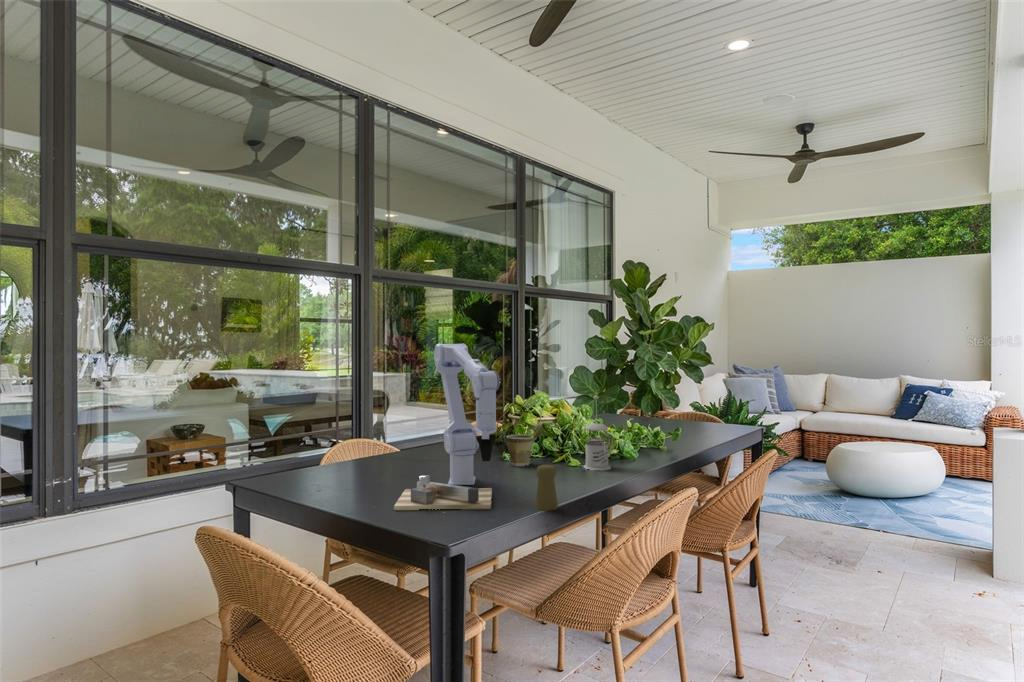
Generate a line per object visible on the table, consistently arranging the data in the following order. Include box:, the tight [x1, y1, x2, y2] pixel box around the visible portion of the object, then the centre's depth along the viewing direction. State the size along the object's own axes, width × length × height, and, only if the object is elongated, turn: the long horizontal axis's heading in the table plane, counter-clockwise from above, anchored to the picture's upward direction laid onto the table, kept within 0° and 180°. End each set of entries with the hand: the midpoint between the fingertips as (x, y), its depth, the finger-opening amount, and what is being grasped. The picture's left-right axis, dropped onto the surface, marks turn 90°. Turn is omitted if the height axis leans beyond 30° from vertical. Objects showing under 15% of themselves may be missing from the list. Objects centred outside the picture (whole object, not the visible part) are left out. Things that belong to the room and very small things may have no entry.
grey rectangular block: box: [410, 486, 433, 505], centre depth 160 cm, size 2×6×3 cm, turn 51°
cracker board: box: [393, 487, 493, 511], centre depth 166 cm, size 18×25×1 cm
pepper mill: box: [534, 464, 559, 511], centre depth 158 cm, size 6×6×11 cm
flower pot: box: [505, 433, 535, 467], centre depth 217 cm, size 13×10×10 cm
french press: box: [582, 395, 614, 471], centre depth 210 cm, size 10×12×25 cm
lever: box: [416, 474, 479, 503], centre depth 164 cm, size 20×3×5 cm, turn 58°
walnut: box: [425, 486, 437, 499], centre depth 162 cm, size 4×4×4 cm
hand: (486, 460), depth 174 cm, fingers closed
